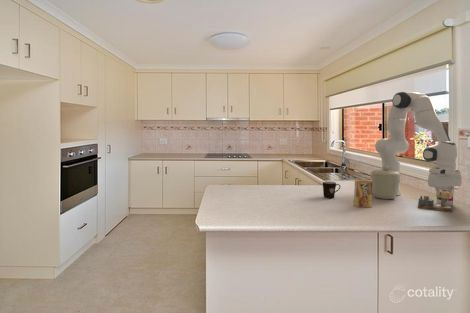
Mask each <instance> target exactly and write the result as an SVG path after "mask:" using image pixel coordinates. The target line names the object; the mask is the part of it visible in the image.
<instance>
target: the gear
mask: <svg viewBox="0 0 470 313" xmlns="http://www.w3.org/2000/svg"><path fill="white" fill-rule="evenodd" d="M418 202H419V204H421V205H425V206H432V205H433V204H435V201H434V199H432V198H429V200H424V197H423V195H420V197H419V198H418Z"/></svg>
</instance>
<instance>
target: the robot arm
mask: <svg viewBox="0 0 470 313" xmlns="http://www.w3.org/2000/svg"><path fill="white" fill-rule="evenodd" d="M391 102H392V105H391V107H390V110H389V113H388V117H387V123H386V130H387V132H388V133H389V137H387V138H386V137H384V138H380V139H378V140H376V142H375V144H374V149H375V151H376V152H377V153H378V154H379V156H380V158H381V166H382V167H381V170H383V167H384V166H388V167H389V170H391V171H397V172H399V173H400V174H401V162H400V161H399V160H398V159H397V156H396V155H398V154H399V155H400V154H404V153H406V152H408V150H409V148H410V143H409V141H408V140H407V139H406V133H405V132H406V131H405V129H406V122H407V116H408V113H409V112H410V111H411V110H412V111H413V116H414V121H415V123H416V124H417V126H418V127H419V128H422V129H424V130H427V131H429V132H431V133H433V135H434V136H435V137H436V140H437V142H438V143H437V144H434V145H431V146H427V147H425V148H424V149H423V152H422V157H423V159H424V161H426V162H427V163H436V165H435V166H434V167H431V168H429V169H428V173H429V174H428V179H427V185H428V186H429V187H431V188H434V189H435V191H437V192H436V193H435V195H436V194H438V195H441V191H440V187H448V186H449V190H448V191H447V192H451V193H452V191H453V189H454V190H455V187H460V186H461V185H462V174H461V171H460V170H459V169H457V168H456V167H457V164H456V159H457V158H458V157H457V156H458V151H457V150H458V149H457V147H458V146H457V143H455V142H454V141H451V139H450V136H449V134H448V131H447V130H446V127H445V125H444V123H443V122H442V121H441V120H440V119H439V117H438V115H437V113H436V109H435V107H434V103H433V101H432V99H431V98H430V96H428V95H426V94H425V93H422V92H415V91H399V92H397V93H395V94H394V95H393V97H392V101H391ZM399 183H401V178H400V179H399ZM400 186H401V185H400V184H399V185H398V190H397V195H396V196H401V195H402V193H401V189H400V188H401V187H400ZM372 195H373V188H372Z"/></svg>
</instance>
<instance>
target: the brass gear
mask: <svg viewBox="0 0 470 313" xmlns="http://www.w3.org/2000/svg"><path fill="white" fill-rule="evenodd" d="M435 191H436V190H435ZM436 192H437V191H436ZM437 197H440V198H445V199H446V198H447V199H451V198H452V193H451V192H447V191H441V195H438V194H436V193H435V198H437Z"/></svg>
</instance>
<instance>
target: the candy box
mask: <svg viewBox="0 0 470 313" xmlns="http://www.w3.org/2000/svg"><path fill="white" fill-rule="evenodd" d="M372 184H373V182H372V179H371V180H370V179H367V180H365V179H364V180H362V179H355V180H354V196H353V206H354V207H356V208H372V201H373V200H372V198H373V194H372Z"/></svg>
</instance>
